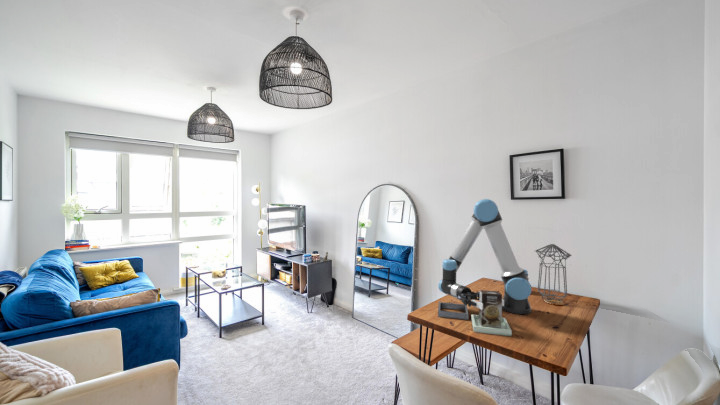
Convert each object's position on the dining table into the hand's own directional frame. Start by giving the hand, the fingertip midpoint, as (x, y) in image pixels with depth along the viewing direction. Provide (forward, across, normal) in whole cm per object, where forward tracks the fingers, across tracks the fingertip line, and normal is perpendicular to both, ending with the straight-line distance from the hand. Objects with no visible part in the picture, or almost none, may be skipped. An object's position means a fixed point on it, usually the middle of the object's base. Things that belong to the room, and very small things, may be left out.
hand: (493, 304), depth 147 cm
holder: (-24, +4, -11) cm, 26 cm away
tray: (-2, 0, -11) cm, 11 cm away
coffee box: (-2, 0, -11) cm, 11 cm away
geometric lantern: (-17, -68, -12) cm, 71 cm away
